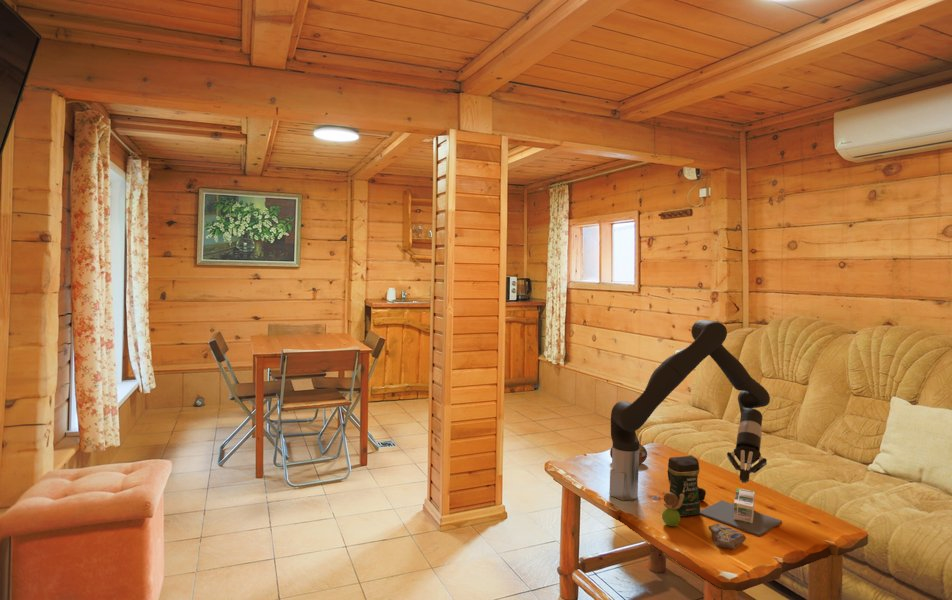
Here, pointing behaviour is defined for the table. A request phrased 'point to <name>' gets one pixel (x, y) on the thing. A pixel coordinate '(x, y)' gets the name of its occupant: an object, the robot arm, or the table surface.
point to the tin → (641, 454)
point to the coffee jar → (685, 483)
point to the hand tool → (700, 490)
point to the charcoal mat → (725, 514)
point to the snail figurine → (672, 509)
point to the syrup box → (744, 505)
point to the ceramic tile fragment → (726, 536)
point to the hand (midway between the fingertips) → (743, 481)
